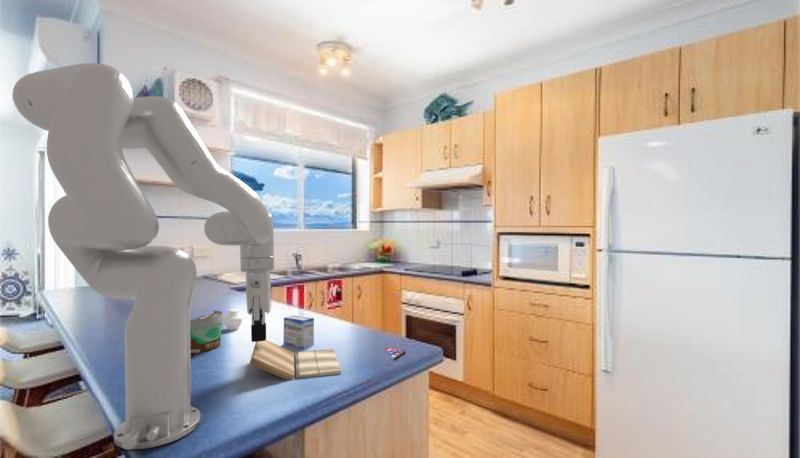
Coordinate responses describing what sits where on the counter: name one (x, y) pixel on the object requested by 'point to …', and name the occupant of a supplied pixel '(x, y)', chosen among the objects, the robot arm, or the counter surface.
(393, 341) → the counter surface
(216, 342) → the food container
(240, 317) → the white rounded piece
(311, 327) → the medicine box
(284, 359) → the click plank
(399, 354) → the smartphone
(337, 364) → the board
